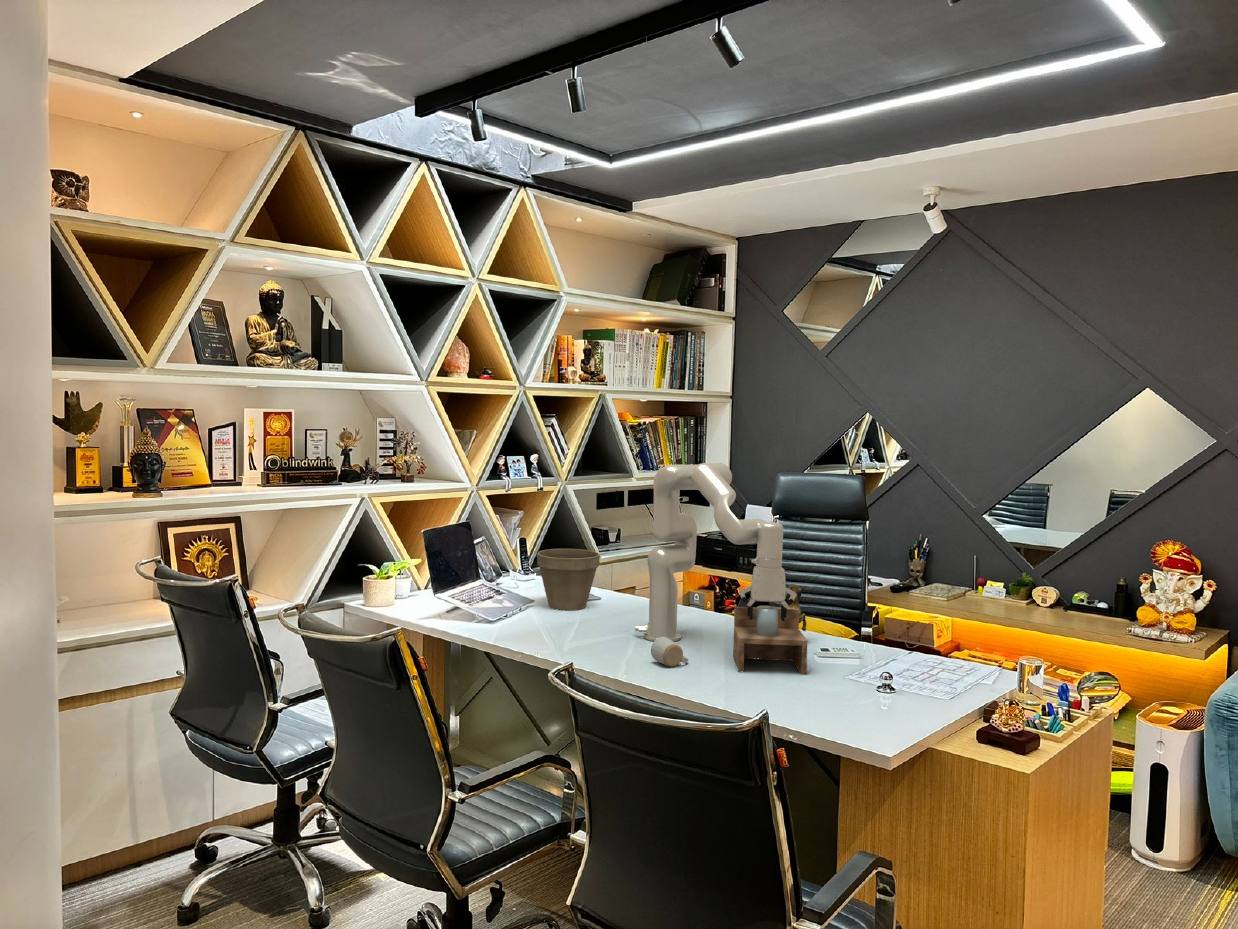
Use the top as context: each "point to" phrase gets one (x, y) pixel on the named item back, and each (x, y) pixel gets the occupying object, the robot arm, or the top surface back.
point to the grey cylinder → (767, 621)
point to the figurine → (795, 603)
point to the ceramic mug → (667, 652)
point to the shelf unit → (769, 639)
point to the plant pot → (567, 576)
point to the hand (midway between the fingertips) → (766, 619)
